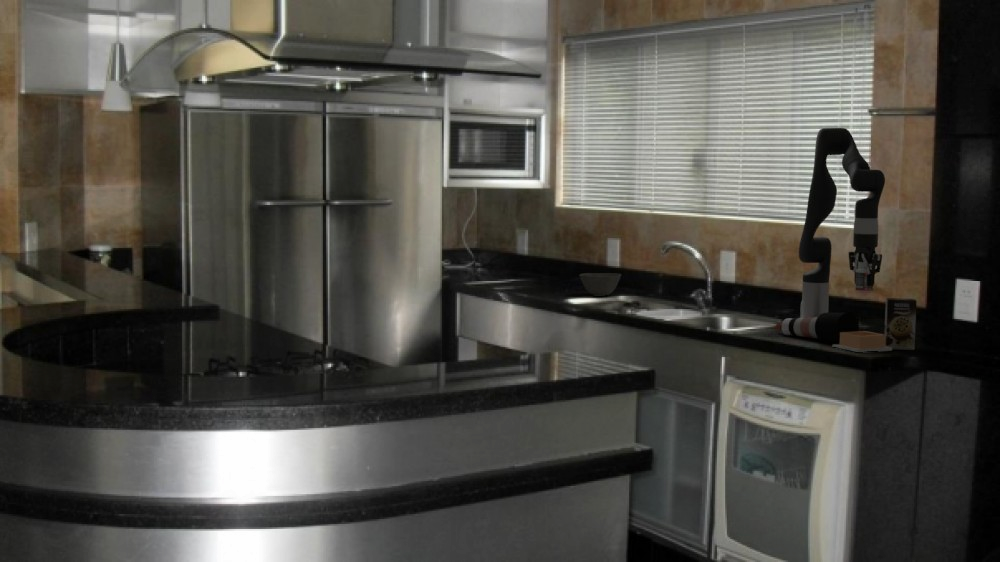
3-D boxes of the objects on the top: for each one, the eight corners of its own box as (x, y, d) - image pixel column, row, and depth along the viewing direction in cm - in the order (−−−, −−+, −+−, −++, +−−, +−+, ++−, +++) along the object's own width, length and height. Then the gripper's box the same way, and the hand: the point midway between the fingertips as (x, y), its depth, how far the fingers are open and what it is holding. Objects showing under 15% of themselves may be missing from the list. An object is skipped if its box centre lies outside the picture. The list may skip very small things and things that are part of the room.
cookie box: (885, 349, 388) (887, 299, 386) (883, 346, 394) (885, 297, 392) (915, 350, 386) (917, 300, 384) (912, 347, 392) (914, 298, 391)
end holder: (832, 347, 391) (832, 332, 390) (867, 345, 396) (868, 330, 395) (856, 352, 379) (856, 337, 379) (892, 350, 385) (892, 335, 384)
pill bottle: (866, 293, 382) (867, 263, 381) (851, 292, 386) (852, 262, 385) (876, 292, 386) (877, 262, 385) (861, 291, 390) (862, 261, 389)
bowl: (622, 294, 549) (623, 272, 548) (619, 299, 530) (619, 276, 529) (582, 293, 552) (582, 272, 551) (576, 298, 534) (577, 275, 533)
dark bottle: (783, 345, 426) (791, 319, 428) (853, 347, 396) (862, 320, 398) (763, 334, 421) (771, 308, 423) (832, 335, 392) (841, 307, 394)
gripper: (890, 233, 379) (888, 286, 380) (860, 230, 392) (859, 282, 394) (871, 233, 376) (869, 287, 378) (841, 231, 389) (840, 283, 391)
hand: (864, 284), depth 386 cm, fingers closed on pill bottle, 5 cm apart
